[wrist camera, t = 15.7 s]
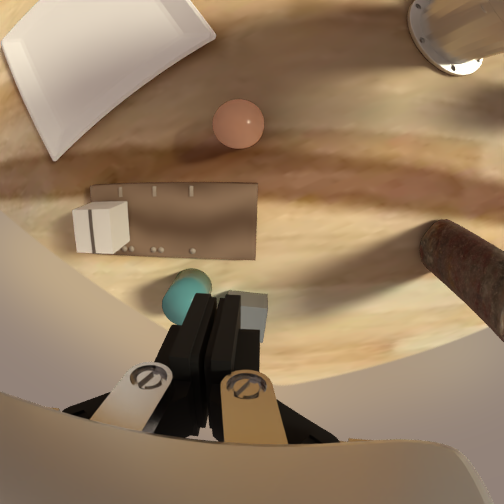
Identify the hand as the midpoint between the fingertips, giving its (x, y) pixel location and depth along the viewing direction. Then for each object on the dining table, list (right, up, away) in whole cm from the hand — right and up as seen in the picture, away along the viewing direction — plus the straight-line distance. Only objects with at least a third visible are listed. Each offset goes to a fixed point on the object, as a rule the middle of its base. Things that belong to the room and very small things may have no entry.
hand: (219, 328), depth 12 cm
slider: (-16, +7, +25) cm, 31 cm away
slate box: (0, -5, +30) cm, 31 cm away
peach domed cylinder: (0, +17, +23) cm, 29 cm away
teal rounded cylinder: (-6, -2, +29) cm, 30 cm away
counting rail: (-9, +7, +27) cm, 29 cm away
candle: (+27, +4, +27) cm, 38 cm away
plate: (-20, +32, +19) cm, 43 cm away
